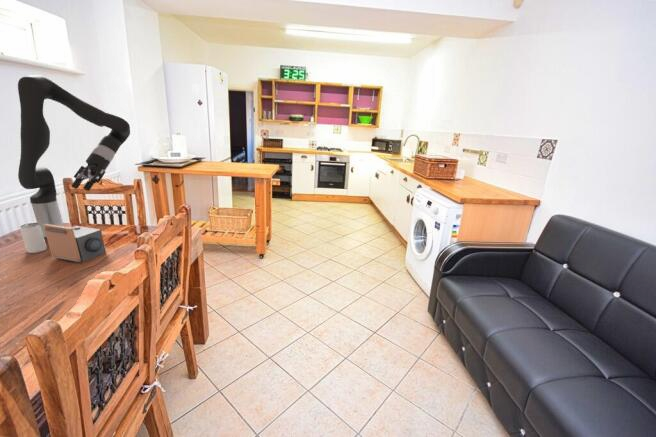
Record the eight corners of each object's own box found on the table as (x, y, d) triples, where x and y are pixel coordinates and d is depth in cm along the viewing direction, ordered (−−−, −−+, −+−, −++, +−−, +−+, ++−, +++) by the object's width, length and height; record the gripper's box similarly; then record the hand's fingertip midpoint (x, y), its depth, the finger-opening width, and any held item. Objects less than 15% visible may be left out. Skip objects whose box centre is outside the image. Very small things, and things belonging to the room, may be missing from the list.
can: (34, 254, 128) (26, 228, 124) (23, 252, 129) (14, 226, 125) (50, 248, 134) (43, 223, 130) (39, 246, 135) (31, 221, 131)
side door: (81, 261, 122) (72, 227, 117) (76, 263, 120) (67, 229, 115) (56, 256, 125) (46, 223, 120) (50, 258, 123) (40, 225, 118)
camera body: (109, 253, 131) (104, 228, 128) (87, 263, 122) (80, 237, 118) (81, 248, 135) (75, 224, 131) (57, 257, 126) (50, 232, 122)
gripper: (83, 151, 131) (60, 182, 125) (103, 153, 125) (80, 185, 119) (99, 161, 137) (78, 191, 131) (119, 163, 132) (98, 195, 126)
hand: (79, 188), depth 125 cm, fingers open, 8 cm apart
